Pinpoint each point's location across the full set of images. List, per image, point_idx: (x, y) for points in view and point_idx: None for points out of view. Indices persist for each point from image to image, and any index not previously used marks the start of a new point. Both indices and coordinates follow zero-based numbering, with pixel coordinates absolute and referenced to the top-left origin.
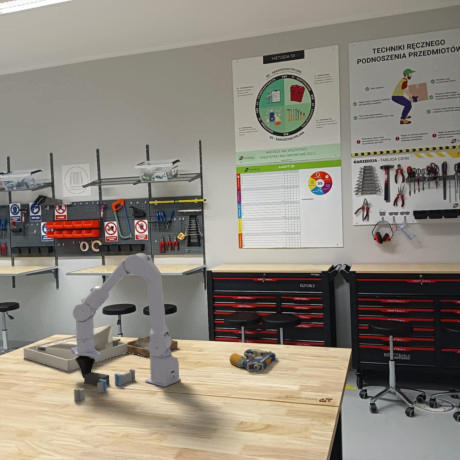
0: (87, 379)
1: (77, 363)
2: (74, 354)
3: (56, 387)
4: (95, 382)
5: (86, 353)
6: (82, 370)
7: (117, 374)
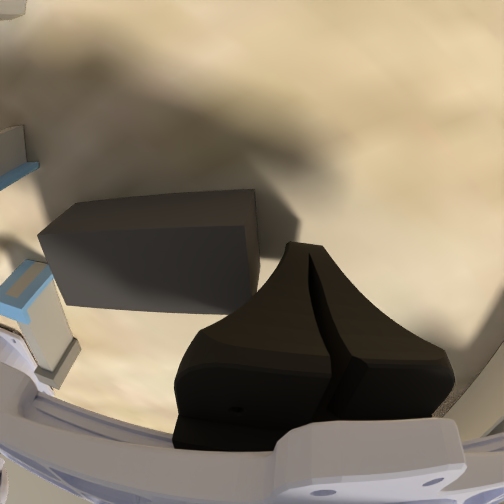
0: (202, 207)
1: (501, 379)
2: (446, 432)
3: (412, 19)
4: (118, 209)
5: (97, 482)
6: (317, 278)
7: (7, 307)
